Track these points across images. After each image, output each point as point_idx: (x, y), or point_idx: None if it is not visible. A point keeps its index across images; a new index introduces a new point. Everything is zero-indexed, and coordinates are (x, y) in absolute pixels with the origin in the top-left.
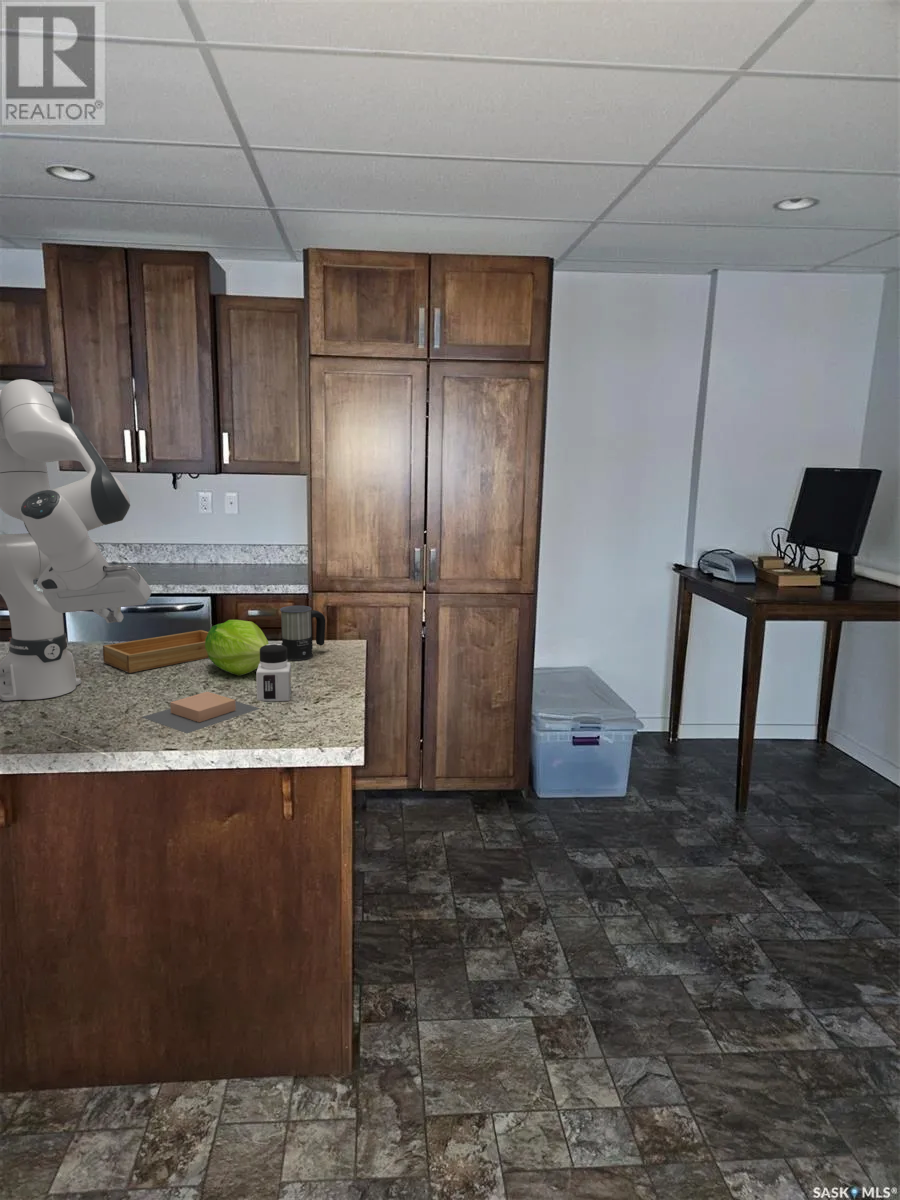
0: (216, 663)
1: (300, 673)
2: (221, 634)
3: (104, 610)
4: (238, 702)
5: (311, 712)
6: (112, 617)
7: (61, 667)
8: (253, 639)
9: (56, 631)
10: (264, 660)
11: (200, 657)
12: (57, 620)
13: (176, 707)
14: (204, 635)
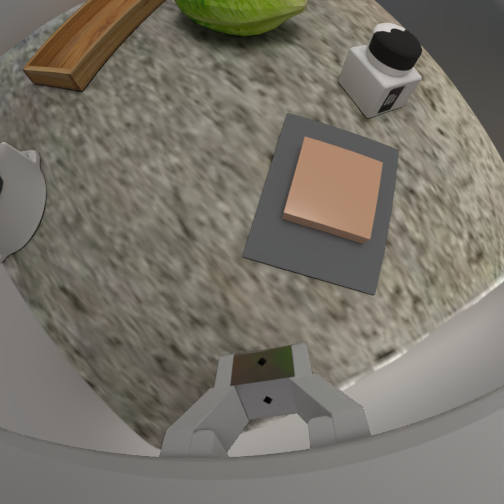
0: (215, 28)
1: (327, 14)
2: None
3: (221, 423)
4: (350, 133)
5: (454, 143)
6: (285, 411)
7: (13, 187)
8: None
9: None
10: (395, 66)
11: (149, 12)
12: None
13: (302, 220)
14: None
